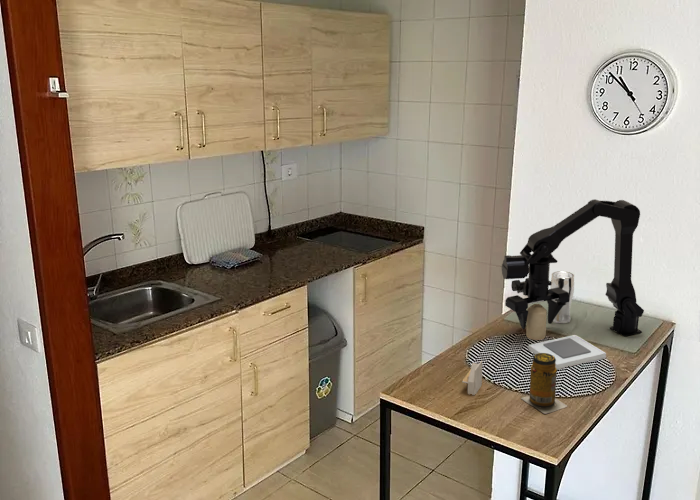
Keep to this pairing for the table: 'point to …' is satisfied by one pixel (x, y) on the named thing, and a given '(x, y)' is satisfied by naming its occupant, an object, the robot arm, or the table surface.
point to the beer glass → (566, 283)
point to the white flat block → (568, 351)
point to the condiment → (543, 384)
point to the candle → (536, 322)
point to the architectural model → (474, 378)
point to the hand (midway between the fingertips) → (536, 326)
